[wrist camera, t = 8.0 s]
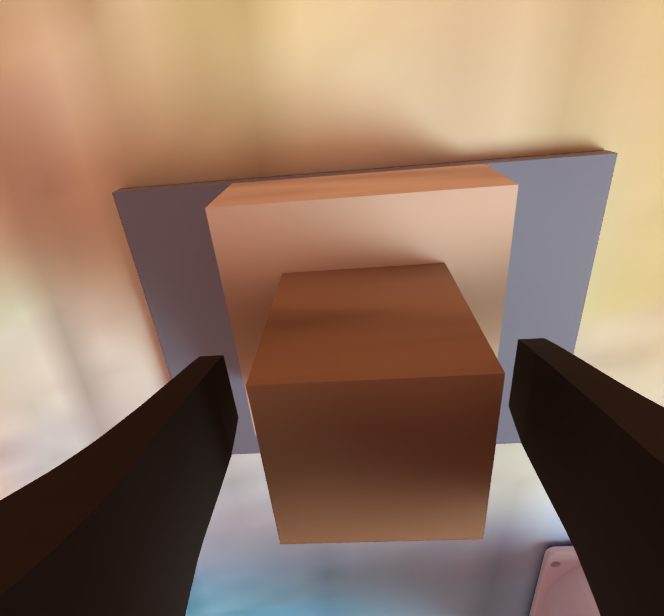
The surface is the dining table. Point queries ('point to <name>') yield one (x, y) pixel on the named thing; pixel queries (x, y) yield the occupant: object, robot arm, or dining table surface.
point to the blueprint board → (528, 287)
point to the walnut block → (375, 407)
